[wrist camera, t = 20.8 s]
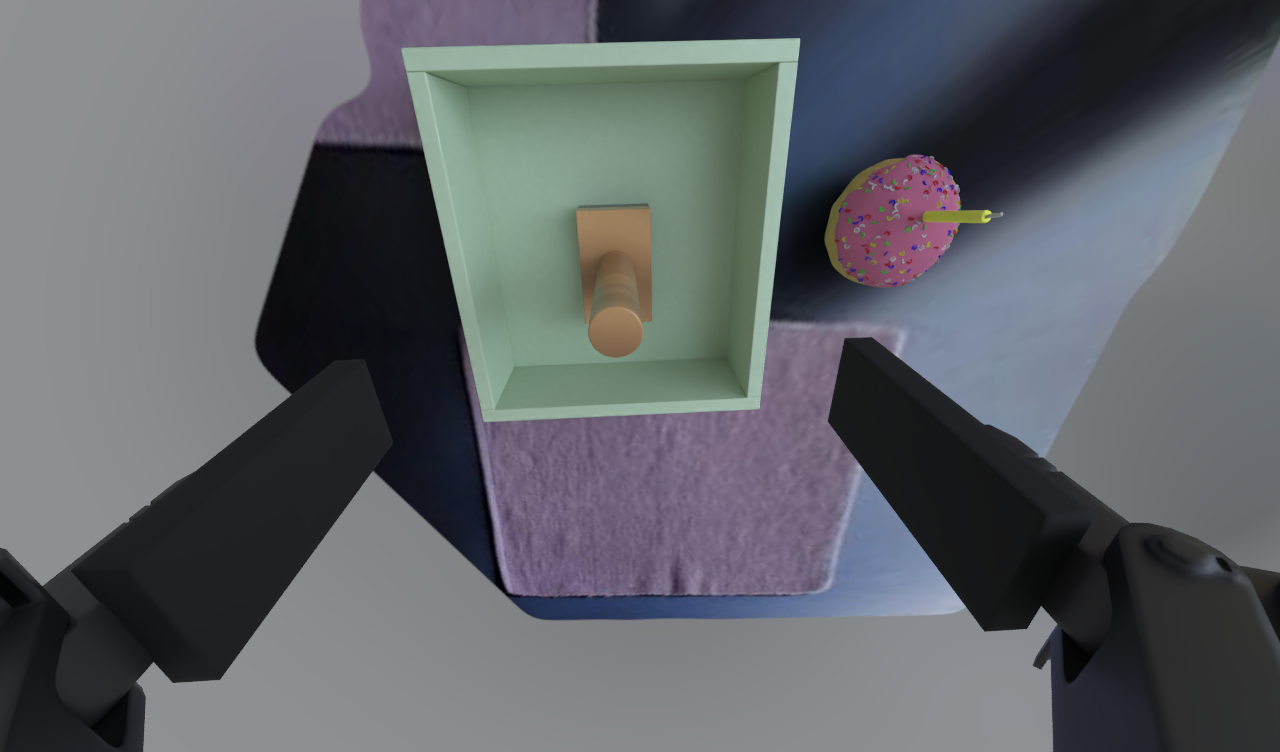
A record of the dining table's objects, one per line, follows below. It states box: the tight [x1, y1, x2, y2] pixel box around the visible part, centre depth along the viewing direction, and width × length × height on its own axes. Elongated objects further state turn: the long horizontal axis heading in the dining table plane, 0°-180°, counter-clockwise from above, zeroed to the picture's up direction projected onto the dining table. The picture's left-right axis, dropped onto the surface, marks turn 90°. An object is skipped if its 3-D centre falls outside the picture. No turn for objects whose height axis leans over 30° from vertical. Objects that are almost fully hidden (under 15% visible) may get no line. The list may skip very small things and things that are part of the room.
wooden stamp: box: [576, 203, 652, 358], centre depth 28 cm, size 8×5×15 cm, turn 1°
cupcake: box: [825, 155, 1003, 287], centre depth 29 cm, size 9×8×12 cm
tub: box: [401, 38, 800, 422], centre depth 31 cm, size 22×20×8 cm
